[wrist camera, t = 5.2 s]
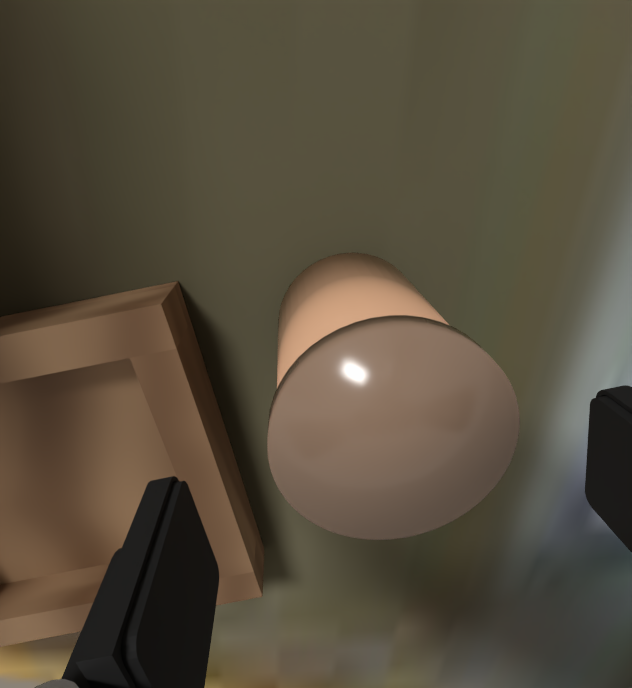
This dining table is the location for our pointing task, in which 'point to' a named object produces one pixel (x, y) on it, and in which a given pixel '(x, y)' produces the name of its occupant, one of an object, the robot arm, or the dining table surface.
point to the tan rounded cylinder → (382, 405)
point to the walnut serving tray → (106, 452)
